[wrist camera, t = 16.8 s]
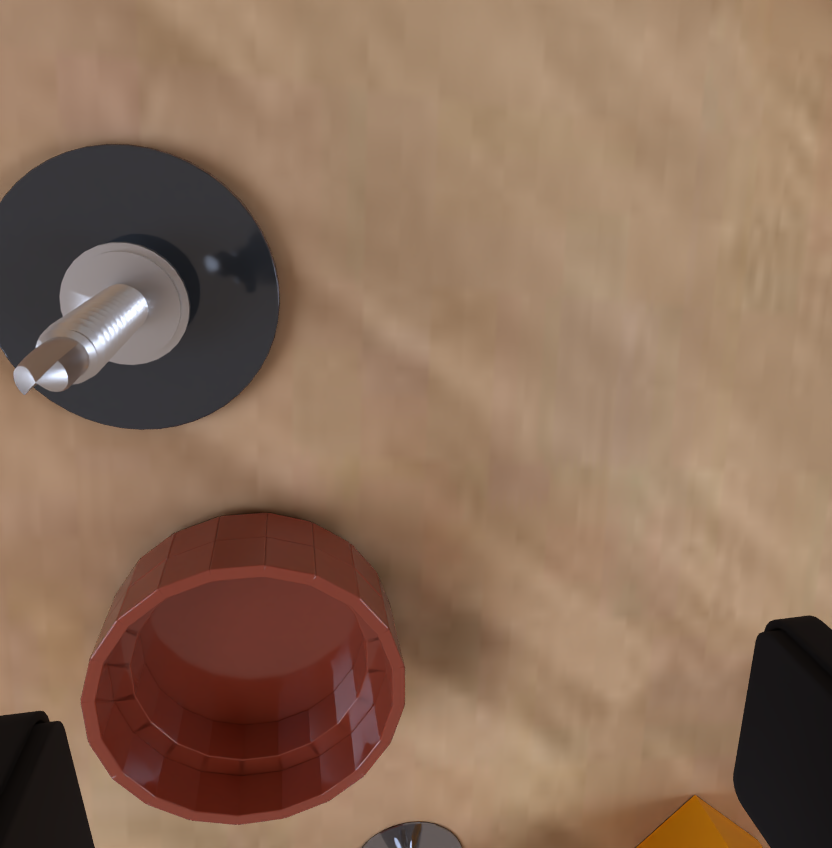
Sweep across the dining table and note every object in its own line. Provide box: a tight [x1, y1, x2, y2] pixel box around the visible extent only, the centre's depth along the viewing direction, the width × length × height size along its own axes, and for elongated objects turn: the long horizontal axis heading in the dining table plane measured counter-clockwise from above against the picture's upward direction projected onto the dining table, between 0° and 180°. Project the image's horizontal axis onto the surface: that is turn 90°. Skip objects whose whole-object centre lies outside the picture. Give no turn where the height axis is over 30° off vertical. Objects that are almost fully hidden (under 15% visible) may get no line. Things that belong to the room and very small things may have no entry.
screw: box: [14, 242, 190, 395], centre depth 24 cm, size 13×5×5 cm
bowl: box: [81, 513, 405, 825], centre depth 35 cm, size 14×14×6 cm
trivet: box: [0, 144, 280, 430], centre depth 31 cm, size 12×12×1 cm
